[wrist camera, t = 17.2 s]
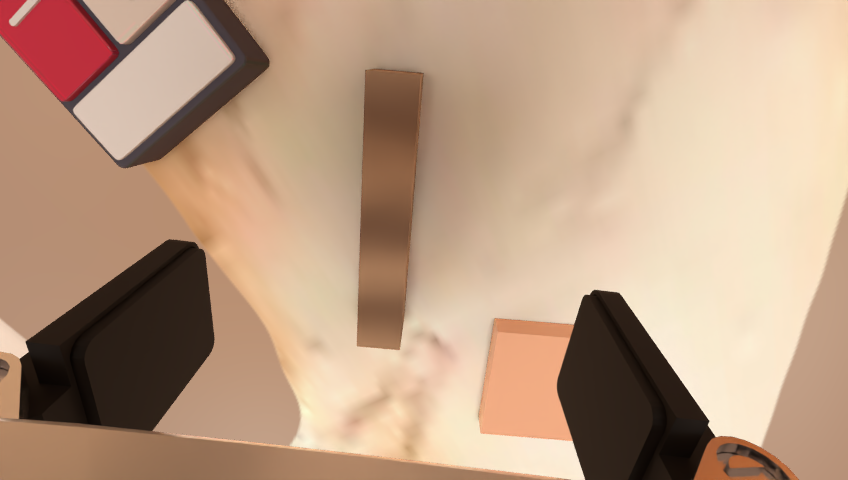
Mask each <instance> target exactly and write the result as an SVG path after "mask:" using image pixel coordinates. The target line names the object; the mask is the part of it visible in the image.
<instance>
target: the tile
mask: <svg viewBox="0 0 848 480" xmlns="http://www.w3.org/2000/svg"><path fill="white" fill-rule="evenodd" d="M573 327H574V325H569V324H557V323H545V322H533V321H521V320H509V319H496V318H495V320H494V326H493V332H492V338H491V344H490V351H489V357H488V363H487V369H486V375H485V381H484V387H483V393H482V399H481V405H480V411H479V423H480V432H481V433H483V434H495V435H507V436H519V437H531V438H543V439H555V440H567V441H573V440H572V437H571V434H570V431H569V428H568V425H567V422H566V418H565V415H564V412H563V409H562V406H561V403H560V400H559V397H558V393H557V379H558V376H559V372H560V369H561V366H562V363H563V359H564V356H565V353H566V350H567V347H568V343H569V340H570V337H571V334H572V331H573Z"/></svg>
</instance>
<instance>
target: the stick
mask: <svg viewBox="0 0 848 480" xmlns="http://www.w3.org/2000/svg"><path fill="white" fill-rule="evenodd" d="M422 85H423V73H415V72H404V71H393V70H382V69H371V70H366V71H365V103H364V134H363V166H362V198H361V230H360V262H359V293H358V325H357V346H360V347H372V348H383V349H394V350H400V344H401V337H402V329H403V322H404V313H405V300H406V288H407V275H408V262H409V250H410V237H411V224H412V212H413V199H414V186H415V174H416V161H417V148H418V136H419V123H420V110H421V98H422Z"/></svg>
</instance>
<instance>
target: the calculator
mask: <svg viewBox="0 0 848 480" xmlns="http://www.w3.org/2000/svg"><path fill="white" fill-rule="evenodd" d="M0 36H1V37H2V38H3V39H4V40H5V41H6V43H7V44H8V45H9V46H10V47H11V48H12V49H13V50H14V51H15V53H16V54H17V55H18V56H19V57H20V58H21V59H22V60H23V61H24V62H25V64H26V65H27V66H28V67H29V68H30V69H31V70H32V71H33V72H34V73H35V75H36V76H37V77H38V78H39V79H40V80H41V81H42V82H43V83H44V84H45V86H46V87H47V88H48V89H49V90H50V91H51V92H52V93H53V94H54V95H55V97H57V99H58V100H59V101H60V102H61V103H62V104H63V105H64V107H65V108H66V109H67V110H68V111H69V112H70V113H71V114H72V115H73V116H74V118H75V119H76V120H77V121H78V122H79V123H80V124H81V125H82V126H83V127H84V129H86V131H87V132H88V133H89V134H90V135H91V136H92V137H93V138H94V139H95V141H96V142H97V143H98V144H99V145H100V146H101V147H102V148H103V149H104V150H105V152H106V153H107V154H108V155H109V156H110V157H111V158H112V159H113V160H114V162H115V163H116V164H117V165H118V166H120V167H121V168H129V167H133V166H137V165H140V164H144V163H148V162H152V161H156V160H159V159H161V158H162V157H163V156H165V155H166V154H167V153H168V152H169V151H171V150H172V149H173V148H174V147H175V146H176V145H178V144H179V143H180V142H181V141H182V140H184V139H185V138H186V137H187V136H188V135H189V134H191V133H192V132H193V131H194V130H195V129H196V128H198V127H199V126H200V125H201V124H202V123H204V122H205V121H206V120H207V119H208V118H209V117H211V116H212V115H213V114H214V113H215V112H217V111H218V110H219V109H220V108H221V107H222V106H224V105H225V104H226V103H227V102H228V101H229V100H231V99H232V98H233V97H234V96H235V95H237V94H238V93H239V92H240V91H241V90H242V89H244V88H245V87H246V86H247V85H248V84H249V83H251V82H252V81H253V80H254V79H255V78H257V77H258V76H259V75H260V74H261V73H262V72H264V71H265V70H266V69H267V68H268V66H269V59H268V57H267V56H266V55H265V53H264V52H263V51H262V49H261V48H260V47H259V45H258V44H257V43H256V42H255V40H254V39H253V38H252V36H251V35H250V34H249V32H248V31H247V30H246V29H245V27H244V26H243V25H242V23H241V22H240V21H239V19H238V18H237V17H236V16H235V14H234V13H233V12H232V10H231V9H230V8H229V7H228V5H227V4H226V3H225V2H224V1H223V0H0Z"/></svg>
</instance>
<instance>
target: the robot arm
mask: <svg viewBox="0 0 848 480" xmlns="http://www.w3.org/2000/svg"><path fill="white" fill-rule="evenodd" d="M26 345H27V348H28V351H29V352H28V353H27V354H26V355H24V356H23V357H22V358H20V359H19V358H18V357H16V356H14V355H13V354H10V353H4V352H0V480H569V479H562V478H554V477H546V476H538V475H529V474H521V473H513V472H505V471H496V470H488V469H480V468H471V467H463V466H455V465H447V464H438V463H430V462H422V461H413V460H404V459H396V458H387V457H379V456H370V455H361V454H353V453H344V452H335V451H326V450H318V449H309V448H300V447H291V446H282V445H273V444H264V443H255V442H246V441H237V440H227V439H219V438H209V437H200V436H191V435H182V434H173V433H164V432H155V431H152V430H153V429H154V428H155V426H156V425H157V424H158V423H159V421H160V420H161V419H162V417H163V416H164V414H165V413H166V412H167V410H168V409H169V408H170V406H171V405H172V404H173V403H174V401H175V400H176V399H177V397H178V396H179V394H180V393H181V392H182V391H183V389H184V388H185V386H186V385H187V384H188V383H189V381H190V380H191V378H192V377H193V376H194V375H195V373H196V372H197V371H198V369H199V368H200V367H201V365H202V364H203V363H204V361H205V360H206V358H207V357H208V356H209V354H210V353H211V351H212V349H213V345H214V332H213V321H212V313H211V303H210V294H209V285H208V275H207V268H206V257H205V252H204V251H203V250H202V249H199V248H198V246H197V244H196V243H195V242H188V241H180V240H170V239H169V240H167V241H165V242H164V243H163V244H161V245H160V246H158V247H157V248H156V249H154V250H153V251H151V252H150V253H149V254H147V255H146V256H144V257H143V258H142V259H141V260H139V261H137V262H136V263H135V264H133V265H132V266H131V267H129V268H128V269H126V270H125V271H124V272H122V273H121V274H119V275H118V276H117V277H115V278H114V279H112V280H111V281H110V282H108V283H107V284H106V285H104V286H103V287H102V288H100V289H99V290H97V291H96V292H94V293H93V294H91V295H90V296H89V297H87V298H86V299H84V300H83V301H82V302H80V303H79V304H78V305H76V306H75V307H73V308H72V309H71V310H69V311H68V312H66V313H65V314H64V315H62V316H61V317H59V318H58V319H57V320H56V321H54V322H52V323H51V324H50V325H48V326H47V327H45V328H44V329H43V330H41V331H40V332H38V333H37V334H36V335H34V336H33V337H31V338H30V339H29V340H27V341H26ZM557 393H558V397H559V400H560V403H561V406H562V409H563V412H564V415H565V418H566V422H567V425H568V428H569V431H570V434H571V437H572V440H573V443H574V446H575V449H576V452H577V456H578V459H579V462H580V465H581V468H582V471H583V474H584V477H585V480H799V479H798V478H797V477H796V476H795V474H794V473H793V472H792V471H791V470H790V469H789V468H788V467H787V466H786V465H785V464H784V463H782V462H781V461H780V460H779V459H778V458H776V457H775V456H774V455H772V454H770V453H769V452H767V451H766V450H764V449H762V448H761V447H759V446H757V445H755V444H752V443H750V442H748V441H746V440H742V439H739V438H735V437H728V436H719V437H715V435H714V434H713V433H712V431H711V430H710V428H709V427H708V423H709V420H708V419H707V417H706V416H705V414H704V413H703V411H702V410H701V409H700V407H699V406H698V404H697V403H696V401H695V400H694V399H693V397H692V396H691V394H690V393H689V391H688V390H687V389H686V387H685V386H684V384H683V383H682V381H681V380H680V379H679V377H678V376H677V374H676V373H675V371H674V370H673V369H672V367H671V366H670V364H669V363H668V361H667V360H666V359H665V357H664V356H663V354H662V353H661V351H660V350H659V349H658V347H657V346H656V344H655V343H654V341H653V340H652V339H651V337H650V336H649V334H648V333H647V331H646V330H645V329H644V327H643V326H642V324H641V323H640V322H639V320H638V319H637V317H636V316H635V314H634V313H633V312H632V310H631V309H630V307H629V306H628V304H627V303H626V302H625V300H624V299H623V297H622V296H621V295H620V294H619V293H617V292H608V291H600V290H594V291H592V293H591V294H590V295H585V296H584V297H583V299H582V302H581V305H580V308H579V311H578V314H577V318H576V321H575V324H574V327H573V331H572V334H571V337H570V340H569V343H568V347H567V350H566V353H565V356H564V359H563V363H562V366H561V369H560V372H559V376H558V379H557Z"/></svg>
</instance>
